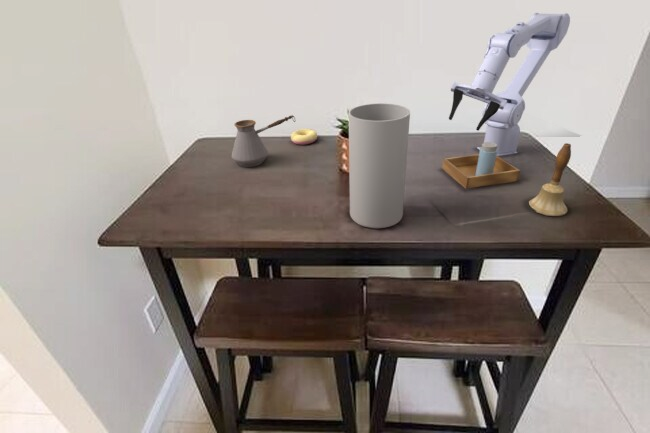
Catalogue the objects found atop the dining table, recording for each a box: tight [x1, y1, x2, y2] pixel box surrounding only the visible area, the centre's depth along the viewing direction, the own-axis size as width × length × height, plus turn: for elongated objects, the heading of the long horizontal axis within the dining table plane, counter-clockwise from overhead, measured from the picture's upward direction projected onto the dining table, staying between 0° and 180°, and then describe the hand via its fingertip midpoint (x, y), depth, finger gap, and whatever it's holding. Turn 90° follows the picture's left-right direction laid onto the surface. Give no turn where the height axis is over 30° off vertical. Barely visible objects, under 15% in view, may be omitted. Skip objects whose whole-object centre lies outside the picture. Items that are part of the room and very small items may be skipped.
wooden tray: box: [442, 153, 521, 189], centre depth 106 cm, size 15×13×4 cm
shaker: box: [476, 141, 498, 176], centre depth 103 cm, size 4×4×9 cm
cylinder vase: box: [348, 103, 411, 229], centre depth 85 cm, size 12×12×25 cm
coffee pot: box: [231, 114, 296, 168], centre depth 118 cm, size 21×12×15 cm, turn 84°
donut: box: [290, 128, 318, 146], centre depth 136 cm, size 10×5×9 cm
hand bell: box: [528, 143, 572, 217], centre depth 87 cm, size 8×8×16 cm
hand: (463, 123), depth 102 cm, fingers open, 7 cm apart
